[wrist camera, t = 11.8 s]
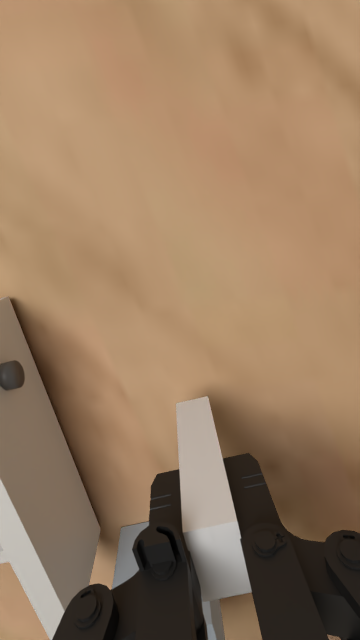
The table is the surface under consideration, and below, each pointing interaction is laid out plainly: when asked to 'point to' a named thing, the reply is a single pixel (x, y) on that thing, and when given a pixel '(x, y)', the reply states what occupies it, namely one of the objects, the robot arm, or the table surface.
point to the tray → (39, 487)
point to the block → (129, 567)
